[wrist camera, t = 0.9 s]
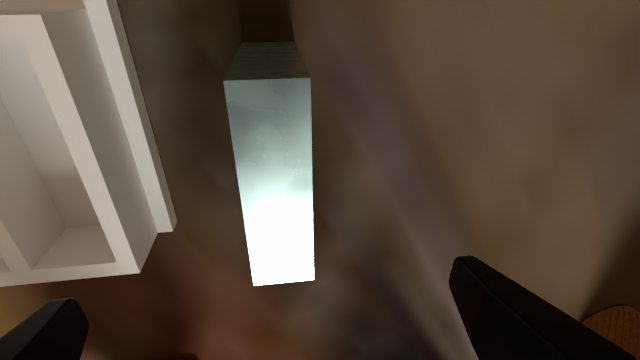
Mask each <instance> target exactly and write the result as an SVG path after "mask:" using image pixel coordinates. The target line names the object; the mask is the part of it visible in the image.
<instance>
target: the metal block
mask: <svg viewBox="0 0 640 360" xmlns="http://www.w3.org/2000/svg"><path fill="white" fill-rule="evenodd" d="M223 82H224V89H225V96H226V103H227V109H228V116H229V123H230V130H231V136H232V143H233V150H234V157H235V163H236V170H237V177H238V184H239V190H240V197H241V204H242V210H243V217H244V224H245V231H246V237H247V244H248V251H249V258H250V264H251V271H252V278H253V285H254V286H258V285H268V284H277V283H287V282H297V281H307V280H314V249H313V190H312V131H311V78H310V75H309V73H308V71H307V69H306V66H305V64H304V62H303V60H302V57H301V55H300V53H299V51H298V48H297V46H296V44H295V42H255V43H241V45H240V47H239V49H238V51H237V53H236V55H235V57H234V59H233V62H232V64H231V66H230V68H229V70H228V72H227V74H226V76H225V78H224V80H223Z"/></svg>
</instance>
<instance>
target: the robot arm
mask: <svg viewBox="0 0 640 360" xmlns="http://www.w3.org/2000/svg"><path fill="white" fill-rule="evenodd" d="M449 287H450V290H451V293H452V295H453V298H454V300H455V303H456V306H457V308H458V311H459V313H460V316H461V318H462V321H463V324H464V326H465V329H466V331H467V334H468V336H469V339H470V341H471V344H472V346H473V348H474V350H475V352H476V354H477V357H478V358H479V360H640V359H636V357H635V356H634V355H632V354H630V353H629V352H627V351H626V350H624V349H622V348H621V347H619V346H618V345H616V344H614V343H613V342H611V341H609V340H608V339H606V338H605V337H603V336H601V335H600V334H598V333H597V332H595V331H593V330H592V329H590V328H589V327H587V326H585V325H584V324H582V323H580V322H579V321H577V320H576V319H574V318H572V317H571V316H569V315H568V314H566V313H564V312H563V311H561V310H560V309H558V308H556V307H555V306H553V305H551V304H550V303H548V302H547V301H545V300H543V299H542V298H540V297H539V296H537V295H535V294H534V293H532V292H531V291H529V290H527V289H526V288H524V287H522V286H521V285H519V284H518V283H516V282H514V281H513V280H511V279H510V278H508V277H506V276H505V275H503V274H502V273H500V272H498V271H497V270H495V269H493V268H492V267H490V266H489V265H487V264H485V263H484V262H482V261H481V260H479V259H477V258H476V257H474V256H460V257H456V258H455V260H454V263H453V266H452V270H451V274H450V278H449ZM88 329H89V323H88V319H87V317H86V316H85V314H84V312H83V310H82V308H81V306H80V305H79V303H78V301H77V300H76V299H75V298H72V297H69V298H60V299H54V300H51V301H50V302H48V303H47V304H45V305H44V306H43V307H41V308H40V309H39V310H37V311H36V312H35V313H33V314H32V315H31V316H29V317H28V318H27V319H25V320H24V321H23V322H21V323H20V324H19V325H17V326H16V327H15V328H13V329H12V330H11V331H9V332H8V333H7V334H5V335H4V336H3V337H1V338H0V360H80V357H81V354H82V350H83V347H84V344H85V340H86V337H87V333H88Z"/></svg>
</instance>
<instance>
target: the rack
mask: <svg viewBox="0 0 640 360" xmlns="http://www.w3.org/2000/svg"><path fill="white" fill-rule="evenodd" d="M176 222H177V218H176V214H175V211H174V207H173V203H172V200H171V196H170V193H169V189H168V185H167V182H166V178H165V175H164V171H163V167H162V164H161V160H160V156H159V153H158V149H157V146H156V142H155V138H154V135H153V131H152V127H151V124H150V120H149V117H148V113H147V109H146V106H145V102H144V98H143V95H142V91H141V88H140V84H139V80H138V77H137V73H136V69H135V66H134V62H133V59H132V55H131V51H130V48H129V44H128V40H127V37H126V33H125V30H124V26H123V22H122V19H121V15H120V11H119V8H118V4H117V1H116V0H0V287H3V286H13V285H23V284H33V283H44V282H54V281H64V280H75V279H85V278H95V277H105V276H116V275H126V274H136V273H140V272H141V270H142V267H143V265H144V263H145V261H146V258H147V256H148V254H149V252H150V249H151V247H152V245H153V243H154V240H155V238H156V236H157V234H158V233H161V232H173V230H174V228H175V225H176Z"/></svg>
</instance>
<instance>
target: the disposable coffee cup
mask: <svg viewBox="0 0 640 360" xmlns="http://www.w3.org/2000/svg"><path fill="white" fill-rule="evenodd" d="M582 324H584V325H585V326H587V327H589V328H590V329H592V330H593V331H595V332H597V333H598V334H600V335H601V336H603V337H605V338H606V339H608V340H609V341H611V342H613V343H614V344H616V345H618V346H619V347H621V348H622V349H624V350H626V351H627V352H629V353H630V354H632V355H634V356H635V357H636V359H640V313H639V312H638V311H636V310H635V309H634V308H632V307H629V306H616V307H611V308H608V309H605V310H602V311H600V312H598V313H596V314H594V315H592V316H591V317H589V318H587V319H586V320H585V321H583V322H582Z"/></svg>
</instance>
